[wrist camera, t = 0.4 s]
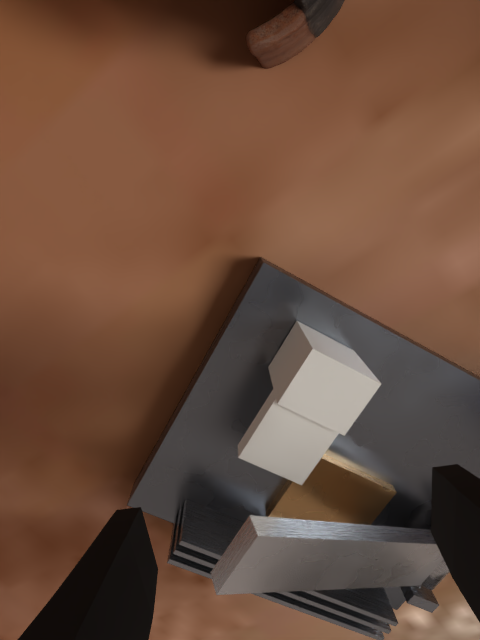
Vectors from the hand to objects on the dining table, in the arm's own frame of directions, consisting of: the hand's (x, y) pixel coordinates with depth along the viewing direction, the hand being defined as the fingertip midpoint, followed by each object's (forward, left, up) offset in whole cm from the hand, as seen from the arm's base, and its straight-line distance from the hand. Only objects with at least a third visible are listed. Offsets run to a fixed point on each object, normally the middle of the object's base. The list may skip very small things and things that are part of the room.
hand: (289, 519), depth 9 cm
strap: (-7, +5, -6) cm, 10 cm away
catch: (-2, 0, -8) cm, 8 cm away
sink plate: (-6, +3, -10) cm, 12 cm away
